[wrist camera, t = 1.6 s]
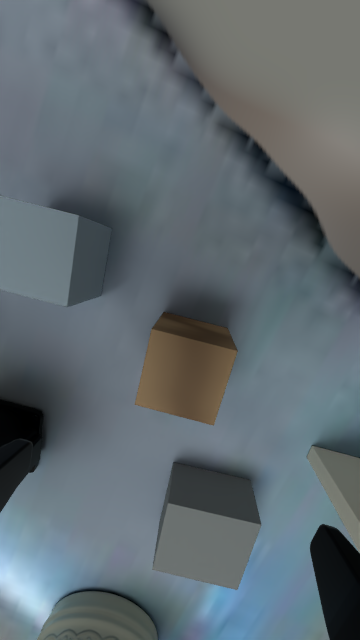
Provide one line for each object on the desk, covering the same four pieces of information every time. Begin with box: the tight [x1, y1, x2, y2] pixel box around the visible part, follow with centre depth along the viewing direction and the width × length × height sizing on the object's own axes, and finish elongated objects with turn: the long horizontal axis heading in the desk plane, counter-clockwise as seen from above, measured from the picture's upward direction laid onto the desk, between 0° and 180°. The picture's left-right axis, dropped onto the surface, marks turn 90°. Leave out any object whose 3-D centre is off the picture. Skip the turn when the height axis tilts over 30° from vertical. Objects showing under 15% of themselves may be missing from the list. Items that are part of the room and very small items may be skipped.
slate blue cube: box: [0, 196, 112, 307], centre depth 16 cm, size 5×5×5 cm
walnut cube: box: [135, 312, 238, 425], centre depth 17 cm, size 5×5×5 cm
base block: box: [152, 462, 261, 590], centre depth 21 cm, size 7×7×4 cm
